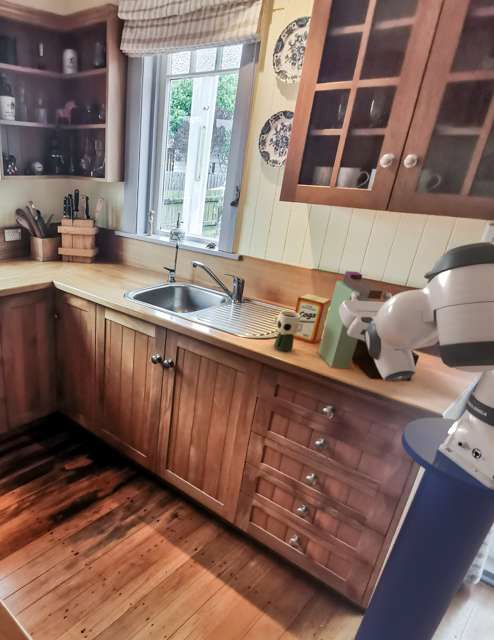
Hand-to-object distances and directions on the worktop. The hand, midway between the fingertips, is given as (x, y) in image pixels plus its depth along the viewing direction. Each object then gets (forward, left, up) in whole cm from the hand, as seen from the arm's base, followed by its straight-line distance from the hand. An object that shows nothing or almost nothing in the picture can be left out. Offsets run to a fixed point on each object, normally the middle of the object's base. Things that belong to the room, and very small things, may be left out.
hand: (370, 293), depth 136 cm
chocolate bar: (+7, 0, -1) cm, 7 cm away
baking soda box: (+32, +3, -27) cm, 42 cm away
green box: (+12, 0, -27) cm, 29 cm away
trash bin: (+10, -13, -27) cm, 31 cm away
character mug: (+20, +15, -27) cm, 37 cm away
